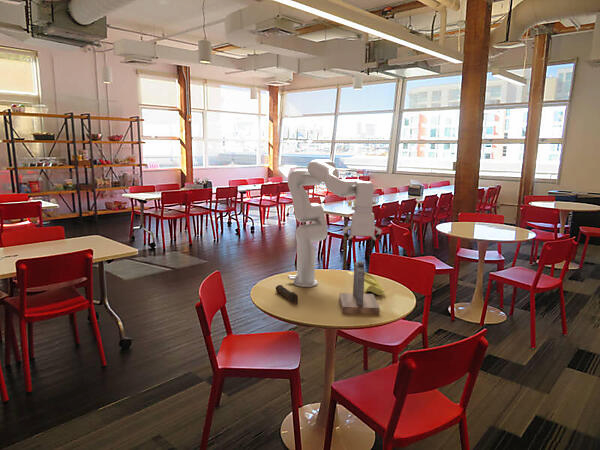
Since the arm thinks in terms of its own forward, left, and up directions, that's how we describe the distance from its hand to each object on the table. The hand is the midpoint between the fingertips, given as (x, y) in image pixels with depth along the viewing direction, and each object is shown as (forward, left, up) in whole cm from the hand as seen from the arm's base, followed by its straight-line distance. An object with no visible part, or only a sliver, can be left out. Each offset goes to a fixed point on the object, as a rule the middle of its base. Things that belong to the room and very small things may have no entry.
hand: (361, 247), depth 183 cm
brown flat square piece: (0, 0, -28) cm, 28 cm away
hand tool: (-32, +8, -28) cm, 43 cm away
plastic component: (+9, +23, -28) cm, 37 cm away
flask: (0, 0, -25) cm, 25 cm away
